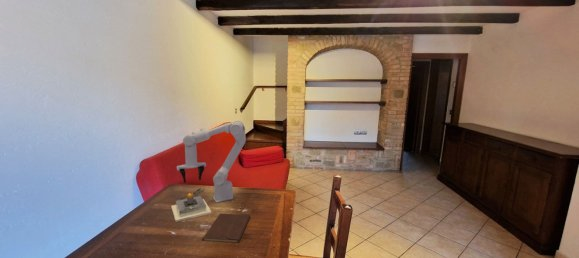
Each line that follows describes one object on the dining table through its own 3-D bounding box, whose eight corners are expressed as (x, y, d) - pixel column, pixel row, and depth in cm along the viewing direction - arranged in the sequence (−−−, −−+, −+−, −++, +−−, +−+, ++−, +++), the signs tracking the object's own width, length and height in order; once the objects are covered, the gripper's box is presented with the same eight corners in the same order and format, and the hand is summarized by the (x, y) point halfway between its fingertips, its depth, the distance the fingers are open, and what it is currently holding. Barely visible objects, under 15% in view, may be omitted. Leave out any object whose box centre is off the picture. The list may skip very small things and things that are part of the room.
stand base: (203, 200, 137) (203, 198, 137) (211, 213, 123) (211, 211, 123) (171, 207, 129) (171, 205, 128) (175, 222, 115) (175, 220, 115)
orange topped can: (193, 206, 128) (192, 191, 126) (194, 209, 125) (194, 193, 124) (187, 208, 126) (186, 193, 125) (188, 210, 124) (187, 195, 122)
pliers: (173, 202, 133) (189, 187, 153) (173, 204, 133) (189, 188, 153) (191, 203, 133) (205, 187, 152) (191, 204, 133) (205, 189, 152)
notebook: (202, 241, 102) (202, 237, 102) (219, 216, 122) (219, 212, 121) (238, 243, 101) (238, 239, 101) (250, 218, 120) (250, 214, 120)
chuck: (200, 201, 134) (200, 195, 133) (206, 210, 124) (205, 204, 123) (176, 206, 128) (175, 200, 127) (179, 217, 118) (179, 210, 117)
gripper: (177, 160, 127) (179, 186, 130) (207, 156, 135) (207, 180, 137) (175, 156, 133) (176, 181, 136) (203, 153, 141) (204, 176, 143)
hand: (192, 180), depth 137 cm, fingers open, 7 cm apart
